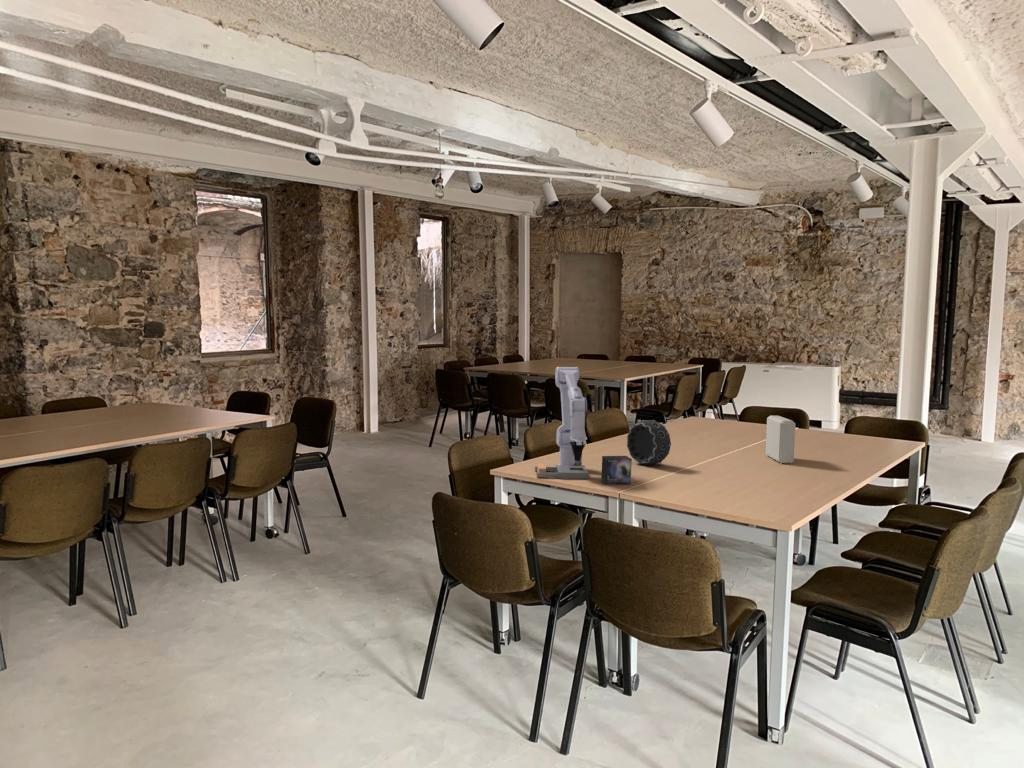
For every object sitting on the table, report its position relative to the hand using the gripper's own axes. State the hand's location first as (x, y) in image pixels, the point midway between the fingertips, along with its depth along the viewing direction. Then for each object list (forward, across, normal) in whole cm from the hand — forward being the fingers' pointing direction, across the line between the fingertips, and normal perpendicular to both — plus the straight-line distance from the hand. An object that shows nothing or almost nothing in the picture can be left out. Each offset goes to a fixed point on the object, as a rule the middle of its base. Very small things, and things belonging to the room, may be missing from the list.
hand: (576, 459), depth 311 cm
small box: (+7, -15, -14) cm, 22 cm away
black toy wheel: (+6, +25, -35) cm, 44 cm away
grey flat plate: (+6, 0, +6) cm, 9 cm away
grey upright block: (+6, +40, -101) cm, 109 cm away
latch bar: (+6, 0, +14) cm, 16 cm away
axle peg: (+2, 0, 0) cm, 2 cm away
